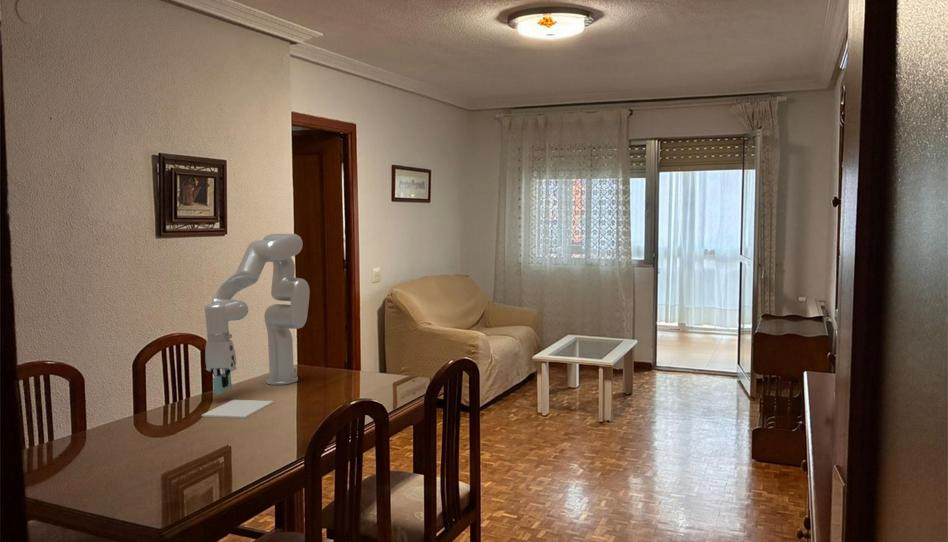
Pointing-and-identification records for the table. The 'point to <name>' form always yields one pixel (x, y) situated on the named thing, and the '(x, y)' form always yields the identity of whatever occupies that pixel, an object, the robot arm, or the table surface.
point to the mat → (237, 409)
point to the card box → (218, 384)
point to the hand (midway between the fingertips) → (222, 386)
